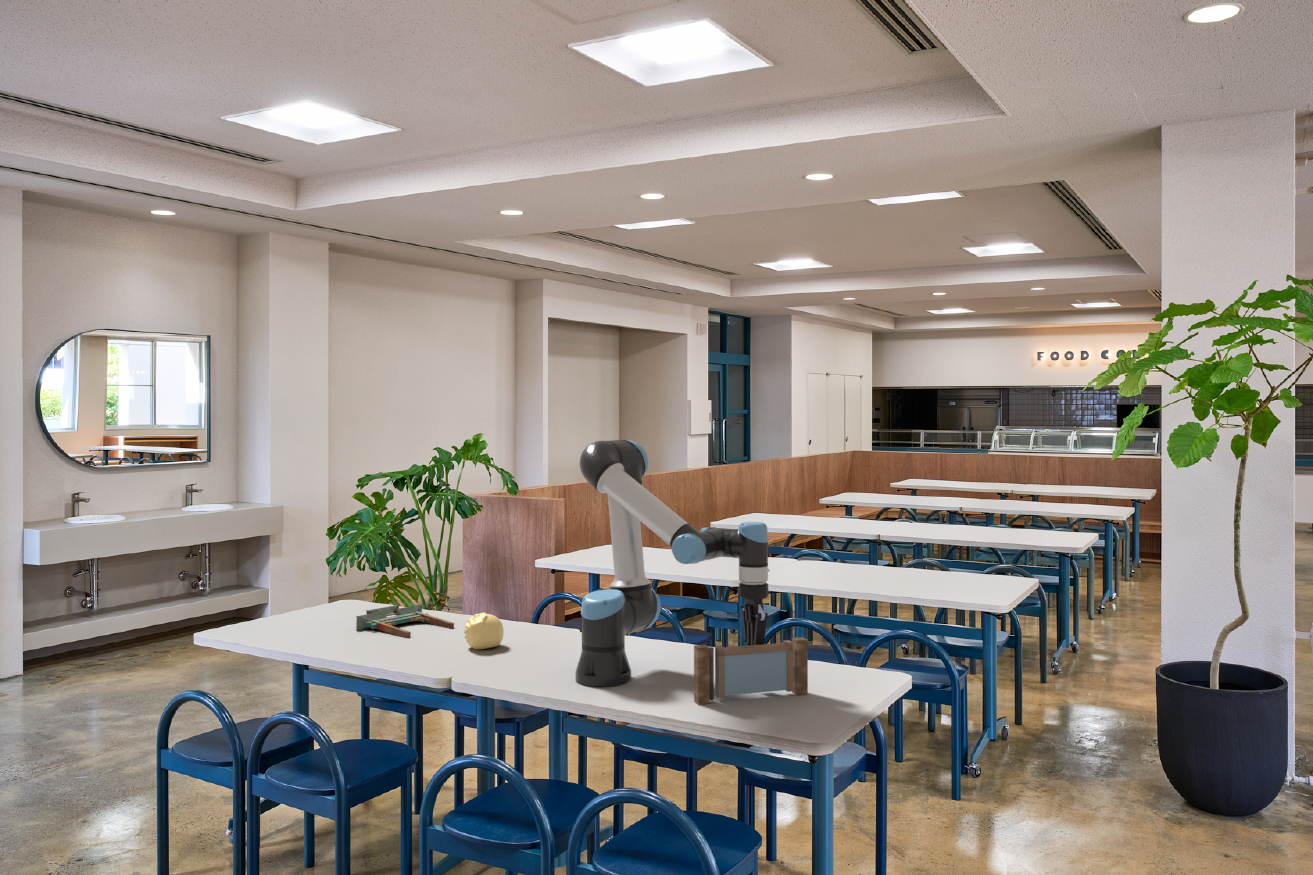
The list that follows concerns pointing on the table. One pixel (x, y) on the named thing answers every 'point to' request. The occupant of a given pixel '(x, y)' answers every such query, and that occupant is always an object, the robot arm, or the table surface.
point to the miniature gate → (397, 619)
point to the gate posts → (706, 670)
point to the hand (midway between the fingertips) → (754, 672)
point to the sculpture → (483, 631)
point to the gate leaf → (753, 668)
